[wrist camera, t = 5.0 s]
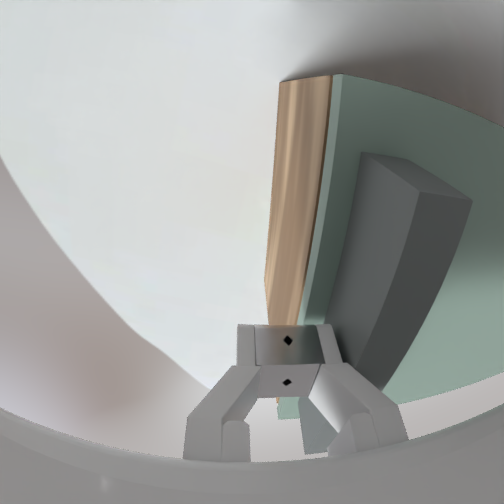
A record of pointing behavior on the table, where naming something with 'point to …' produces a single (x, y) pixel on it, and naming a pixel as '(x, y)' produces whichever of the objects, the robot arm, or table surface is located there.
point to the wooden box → (295, 192)
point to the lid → (406, 246)
